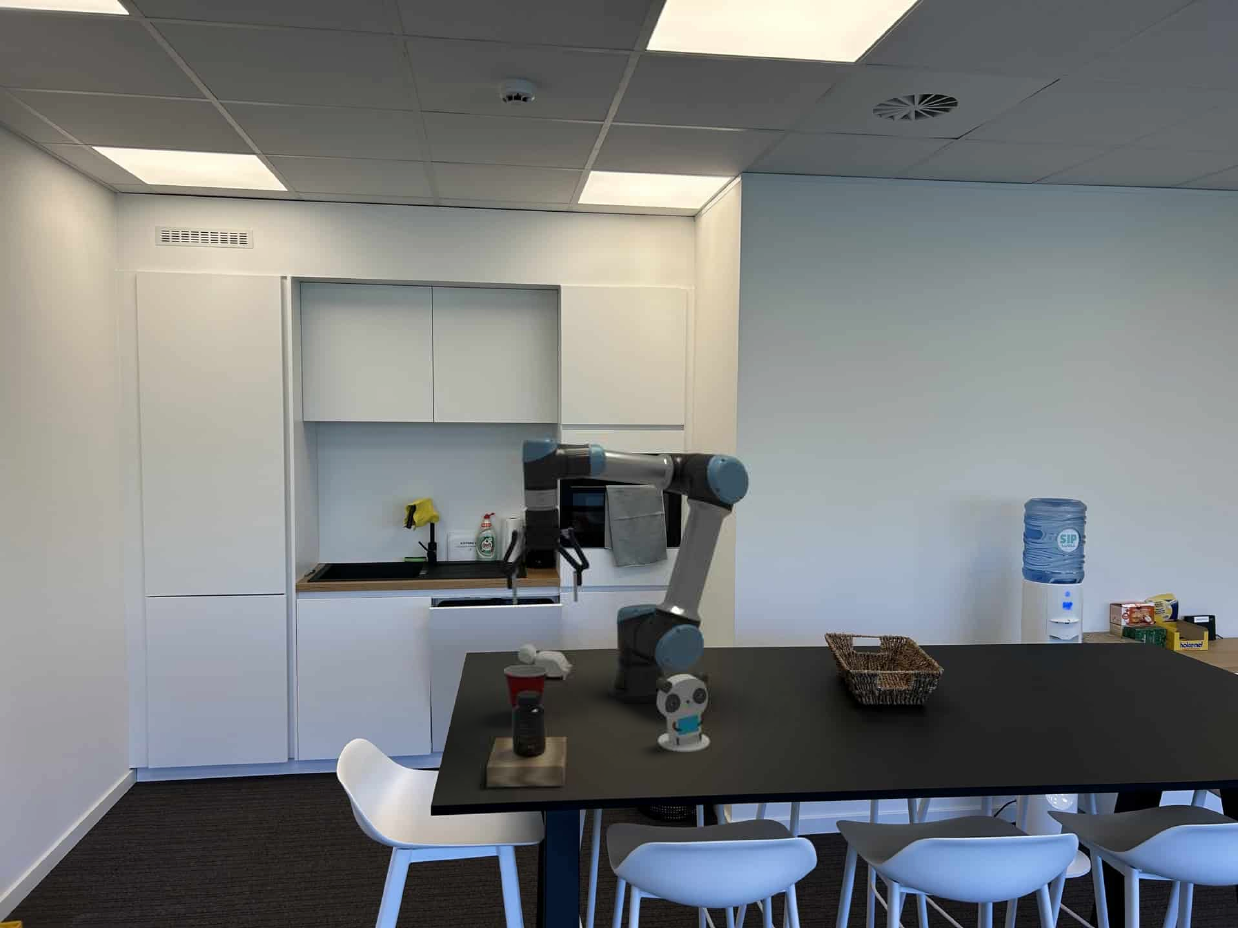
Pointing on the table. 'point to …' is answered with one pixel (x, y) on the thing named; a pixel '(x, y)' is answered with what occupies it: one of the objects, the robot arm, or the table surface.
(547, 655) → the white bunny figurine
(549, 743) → the oak block
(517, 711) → the supplement bottle
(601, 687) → the table surface
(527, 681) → the plastic cup
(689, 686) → the disc-based toy figure
